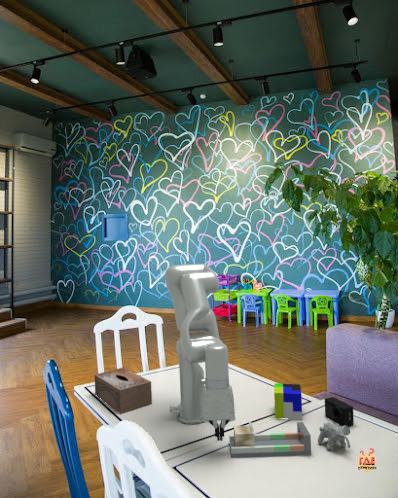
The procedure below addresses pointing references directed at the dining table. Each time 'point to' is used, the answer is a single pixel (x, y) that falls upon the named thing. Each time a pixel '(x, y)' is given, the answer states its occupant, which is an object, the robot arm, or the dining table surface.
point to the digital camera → (339, 412)
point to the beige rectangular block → (244, 435)
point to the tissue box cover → (123, 390)
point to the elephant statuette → (334, 435)
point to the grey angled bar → (304, 436)
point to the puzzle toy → (288, 401)
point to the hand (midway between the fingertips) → (219, 438)
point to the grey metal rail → (270, 446)
